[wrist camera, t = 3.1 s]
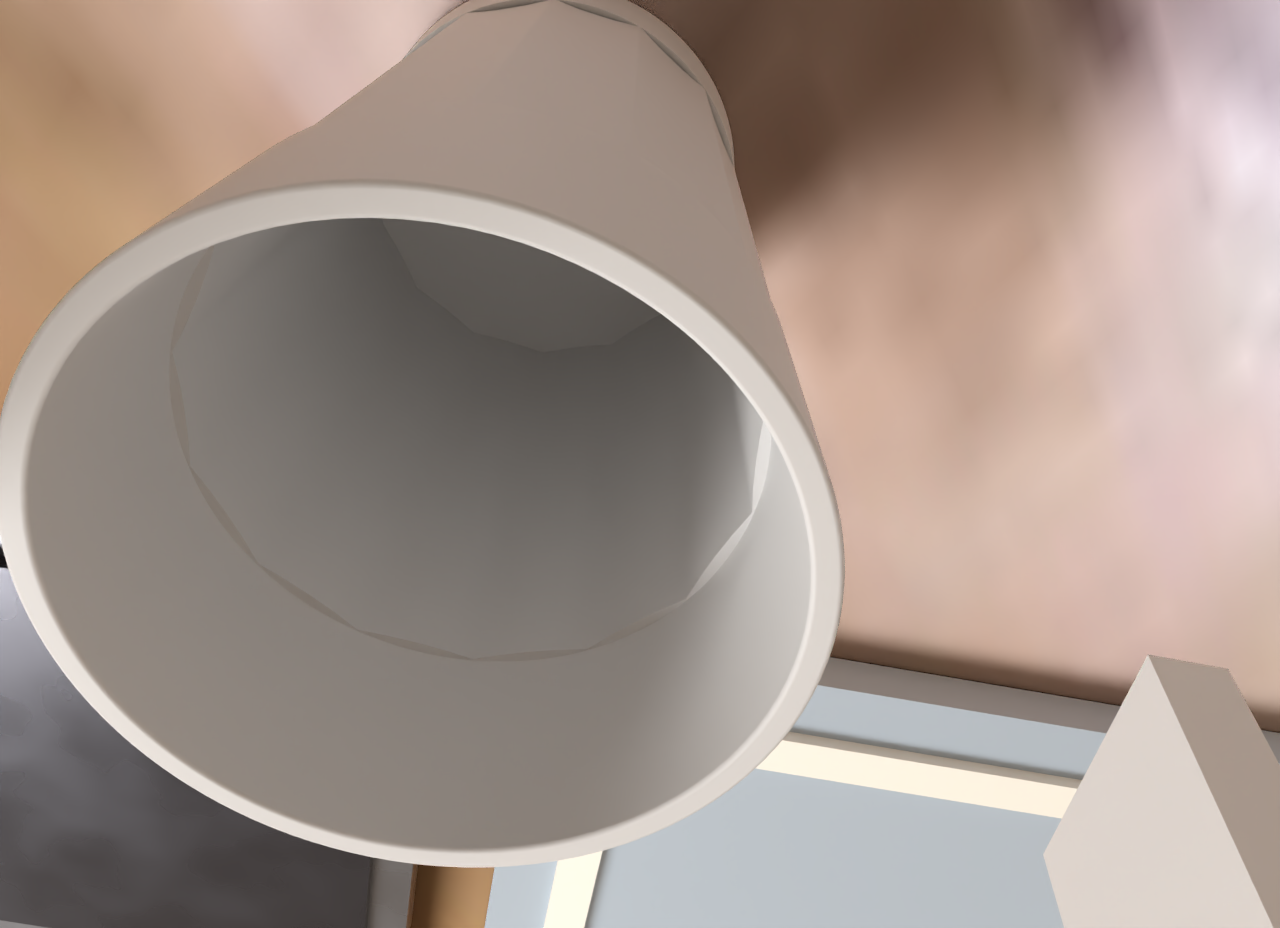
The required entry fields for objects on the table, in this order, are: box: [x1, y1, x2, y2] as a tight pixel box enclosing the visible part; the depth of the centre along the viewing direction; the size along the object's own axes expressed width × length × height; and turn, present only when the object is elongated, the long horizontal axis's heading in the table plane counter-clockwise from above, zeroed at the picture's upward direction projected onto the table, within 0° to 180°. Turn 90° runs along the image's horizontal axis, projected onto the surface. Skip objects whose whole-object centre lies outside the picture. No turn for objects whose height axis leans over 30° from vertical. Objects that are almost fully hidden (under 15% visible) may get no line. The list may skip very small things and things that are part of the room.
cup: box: [0, 0, 845, 867], centre depth 17 cm, size 8×8×12 cm
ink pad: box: [0, 539, 418, 928], centre depth 29 cm, size 14×14×2 cm
